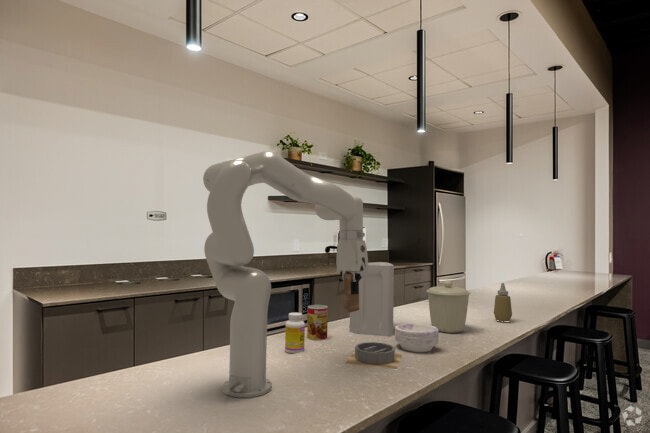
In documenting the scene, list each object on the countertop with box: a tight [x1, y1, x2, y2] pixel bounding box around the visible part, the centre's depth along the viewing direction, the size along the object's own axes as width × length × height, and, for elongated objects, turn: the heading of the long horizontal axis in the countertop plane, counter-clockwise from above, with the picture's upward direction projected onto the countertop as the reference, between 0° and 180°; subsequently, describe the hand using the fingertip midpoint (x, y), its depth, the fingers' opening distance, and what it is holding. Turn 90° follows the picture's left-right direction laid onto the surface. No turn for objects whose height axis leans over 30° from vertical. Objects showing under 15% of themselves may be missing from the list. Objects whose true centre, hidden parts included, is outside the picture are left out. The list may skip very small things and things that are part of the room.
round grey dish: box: [354, 341, 396, 365], centre depth 136 cm, size 13×13×4 cm
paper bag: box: [349, 261, 395, 337], centre depth 174 cm, size 19×15×28 cm
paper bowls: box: [394, 323, 440, 353], centre depth 149 cm, size 15×15×8 cm
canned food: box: [306, 304, 329, 341], centre depth 164 cm, size 8×8×12 cm
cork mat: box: [345, 350, 403, 370], centre depth 136 cm, size 16×16×1 cm
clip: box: [363, 346, 387, 353], centre depth 136 cm, size 5×6×3 cm
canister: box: [425, 280, 471, 334], centre depth 179 cm, size 18×18×21 cm
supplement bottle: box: [284, 312, 306, 354], centre depth 145 cm, size 7×7×13 cm
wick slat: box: [343, 272, 359, 314], centre depth 134 cm, size 2×4×12 cm, turn 135°
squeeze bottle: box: [493, 282, 513, 322], centre depth 198 cm, size 8×8×18 cm
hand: (351, 293), depth 134 cm, fingers closed on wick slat, 2 cm apart
